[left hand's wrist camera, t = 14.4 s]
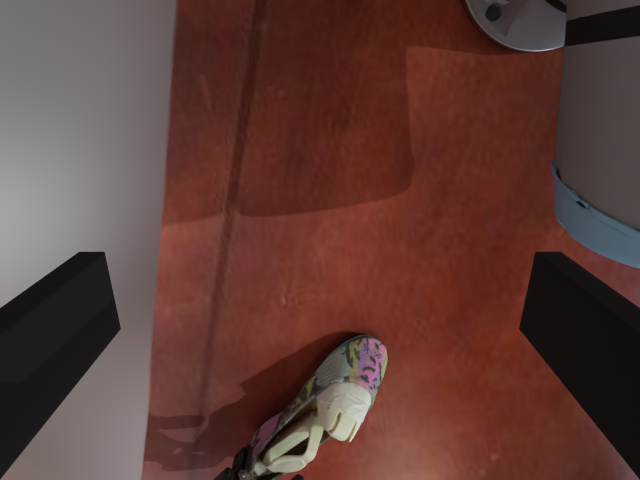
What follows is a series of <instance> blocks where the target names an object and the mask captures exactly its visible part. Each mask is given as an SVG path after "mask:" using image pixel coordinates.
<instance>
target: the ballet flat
mask: <svg viewBox="0 0 640 480" xmlns="http://www.w3.org/2000/svg"><path fill="white" fill-rule="evenodd" d="M386 365H387V351H386V348H385V347H384V345H383V344H382V343H381V342H380V341H379V340H377V339H376V338H374V337H372V336H370V335H359V336H356V337H354V338H351V339H350V340H348V341H346V342H345V343H343V344H342V345H340V346H339V347H338V348H336V349H335V350H334V351H333V352H332V353H331V354H330V355H329V356H328V357H327V358H326V359H325V360H324V361H323V362H322V364H321V365H320V366H319V368H318V369H317V370H316V371H315V372H314V373H313V374H312V376H311V377H310V378H309V379H308V380H307V381H306V383H305V384H304V386H303V387H302V389H301V391H300V392H299V394H298V395H297V396H296V398H295V399H294V401H293V402H292V403H291V404H290V405H289V406H288V407H287V408H286V409H285V410H283V411H282V412H280V413H279V414H277V415H275V416H274V417H272V418H270V419H269V420H268V421H267V422H265V423H264V424H263V425H262V426H260V427H259V428H258V429H257V431H256V432H255V433H254V435H253V438H252V442H251V445H250V446H252V447H253V448H254V449H253V455H252V461H251V467H250V473H249V476H250V479H251V480H275V479H278V478H279V477H281V476H283V475H285V474H287V473H288V472H294V471H298V470H300V469H302V468H304V467H305V466H306V464H307V463H308V462H310V461H312V460H313V459H314V457H315V455H316V452H317V449H318V447H319V446H320V445H321V444H323V443H324V442H325V441H327V440H328V439H329V438H331V437H334V438H336V439H338V440H340V441H344V440H348V441H349V442H351V440H352V439H353V437H354V436H355V434H356V432H357V430H358V428H359V427H360V425H361V423H362V422H363V420H364V418H365V415H366V413H367V412H368V411H369V409H370V408H371V407H372V405H373V403H374V399H375V396H376V393H377V391H378V389H379V386H380V384H381V381H382V379H383V376H384V373H385V370H386Z"/></svg>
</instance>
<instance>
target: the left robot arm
mask: <svg viewBox="0 0 640 480" xmlns="http://www.w3.org/2000/svg"><path fill="white" fill-rule="evenodd" d="M461 1H462V4H463V6H464V9H465V11H466V13H467V15H468V17H469V19H470V20H471V22H472V23H473V24H474V26H475V27H476V28H477V29H478V31H479V32H480V33H481V34H483V35H484V36H485V37H486V38H487V39H489V40H490V41H491V42H493V43H495V44H497V45H499V46H501V47H503V48H506V49H509V50H513V51H519V52H537V51H545V50H551V49H555V48H559V47H562V46H564V50H563V64H562V77H561V88H560V100H559V112H558V124H557V136H556V148H555V157H554V159H553V161H552V165H551V170H552V175H553V177H554V211H555V215H556V217H557V220H558V222H559V223H560V224H561V225H562V226H563V228H564V229H566V231H567V233H568V234H569V235H570V236H571V237H572V238H573V239H575V240H576V241H577V242H579V243H580V244H582V245H583V246H585V247H587V248H588V249H590V250H592V251H594V252H596V253H598V254H600V255H602V256H605V257H607V258H609V259H612V260H615V261H617V262H620V263H623V264H626V265H629V266H632V267H635V268H639V269H640V0H461ZM627 36H628V37H627ZM620 37H621V38H620ZM613 38H615V39H613ZM606 39H608V40H606ZM599 40H601V41H599ZM592 41H595V42H592ZM585 42H588V43H585ZM580 43H582V44H580ZM574 44H575V45H574ZM565 45H569V46H565ZM120 329H121V328H120V323H119V318H118V314H117V309H116V304H115V299H114V295H113V290H112V285H111V281H110V276H109V271H108V266H107V262H106V257H105V252H78V253H77V254H76V255H74V256H73V257H71V258H70V259H69V260H67V261H66V262H64V263H63V264H62V265H60V266H59V267H57V268H56V269H55V270H53V271H52V272H50V273H49V274H48V275H46V276H45V277H43V278H42V279H41V280H39V281H38V282H36V283H35V284H34V285H32V286H31V287H29V288H28V289H27V290H25V291H24V292H22V293H21V294H20V295H18V296H17V297H15V298H14V299H13V300H11V301H10V302H8V303H7V304H6V305H4V306H3V307H1V308H0V479H1V478H2V476H3V475H4V474H5V473H6V471H7V470H8V469H9V468H10V466H11V465H12V464H13V463H14V461H15V460H16V459H17V458H18V456H19V455H20V454H21V453H22V451H23V450H24V449H25V448H26V446H27V445H28V444H29V443H30V441H31V440H32V439H33V438H34V436H35V435H36V434H37V433H38V431H39V430H40V429H41V428H42V427H43V425H44V424H45V423H46V421H47V420H48V419H49V418H50V417H51V415H52V414H53V413H54V412H55V410H56V409H57V408H58V406H59V405H60V404H61V403H62V402H63V400H64V399H65V398H66V397H67V395H68V394H69V393H70V391H71V390H72V389H73V388H74V387H75V385H76V384H77V383H78V382H79V380H80V379H81V378H82V377H83V375H84V374H85V373H86V372H87V370H88V369H89V368H90V367H91V365H92V364H93V363H94V362H95V360H96V359H97V358H98V357H99V355H100V354H101V353H102V352H103V350H104V349H105V348H106V347H107V345H108V344H109V343H110V342H111V340H112V339H113V338H114V337H115V335H116V334H117V333H118V332H119V330H120ZM519 329H520V330H521V332H522V333H523V334H524V335H525V337H526V338H527V339H528V340H529V342H530V343H531V344H532V345H533V347H534V348H535V349H536V350H537V352H538V353H539V354H540V355H541V357H542V358H543V359H544V360H545V362H546V363H547V364H548V365H549V367H550V368H551V369H552V370H553V372H554V373H555V374H556V375H557V377H558V378H559V379H560V380H561V382H562V383H563V384H564V385H565V387H566V388H567V389H568V390H569V392H570V393H571V394H572V395H573V397H574V398H575V399H576V400H577V402H578V403H579V404H580V405H581V407H582V408H583V409H584V410H585V412H586V413H587V414H588V415H589V417H590V418H591V419H592V420H593V422H594V423H595V424H596V425H597V427H598V428H599V429H600V430H601V431H602V433H603V434H604V435H605V436H606V438H607V439H608V440H609V441H610V443H611V444H612V445H613V446H614V448H615V449H616V450H617V451H618V453H619V454H620V455H621V456H622V458H623V459H624V460H625V461H626V463H627V464H628V465H629V466H630V468H631V469H632V470H633V471H634V473H635V474H636V475H637V476H638V478H639V479H640V308H639V307H637V306H636V305H635V304H633V303H632V302H630V301H629V300H627V299H626V298H625V297H623V296H622V295H620V294H619V293H618V292H616V291H615V290H613V289H612V288H611V287H609V286H608V285H606V284H605V283H604V282H602V281H601V280H599V279H598V278H597V277H595V276H594V275H592V274H591V273H590V272H588V271H587V270H585V269H584V268H583V267H581V266H580V265H578V264H577V263H576V262H574V261H573V260H571V259H570V258H569V257H567V256H566V255H564V254H563V253H562V252H535V257H534V262H533V266H532V271H531V276H530V280H529V285H528V290H527V295H526V299H525V304H524V309H523V313H522V318H521V323H520V328H519Z"/></svg>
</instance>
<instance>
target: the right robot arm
mask: <svg viewBox="0 0 640 480" xmlns="http://www.w3.org/2000/svg"><path fill="white" fill-rule="evenodd" d="M253 449H254V448H253V447H252V446H250V445H247V446H246V447H245V448H244V447H243V448H242V449H241V450H240V451H239V452H238V453H237V454H236V455H235V457H234V461H233V466H232V469H231V468H229V467H227V468H226V469H225V470H223V471H222V472H221V473H220V474H219V475H218V476H217V477H216V478H215V479H214V480H249V478H248V474H249V473H250V467H251V461H252V455H253ZM291 480H303V476H301V475H299V474H297V475H296V476H295V477H293V478H292V479H291Z"/></svg>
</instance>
